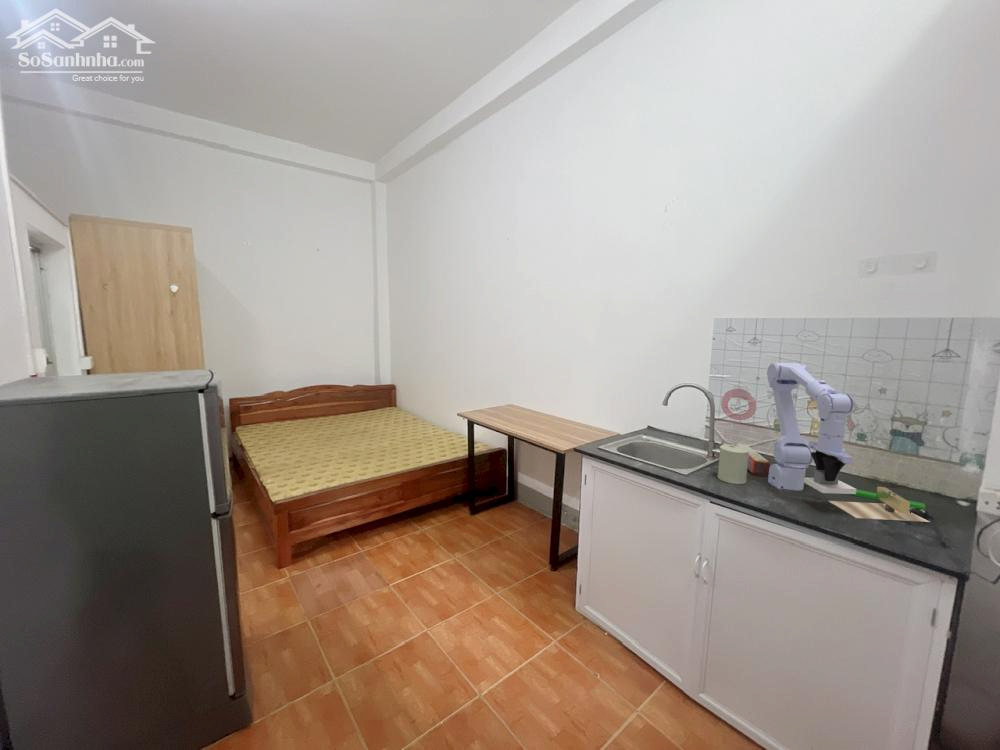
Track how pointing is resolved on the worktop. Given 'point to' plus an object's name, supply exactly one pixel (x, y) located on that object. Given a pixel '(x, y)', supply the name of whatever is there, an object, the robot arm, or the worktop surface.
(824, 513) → the worktop surface
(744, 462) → the can
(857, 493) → the green onion
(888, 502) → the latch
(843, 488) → the cover
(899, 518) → the board
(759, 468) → the snack package
